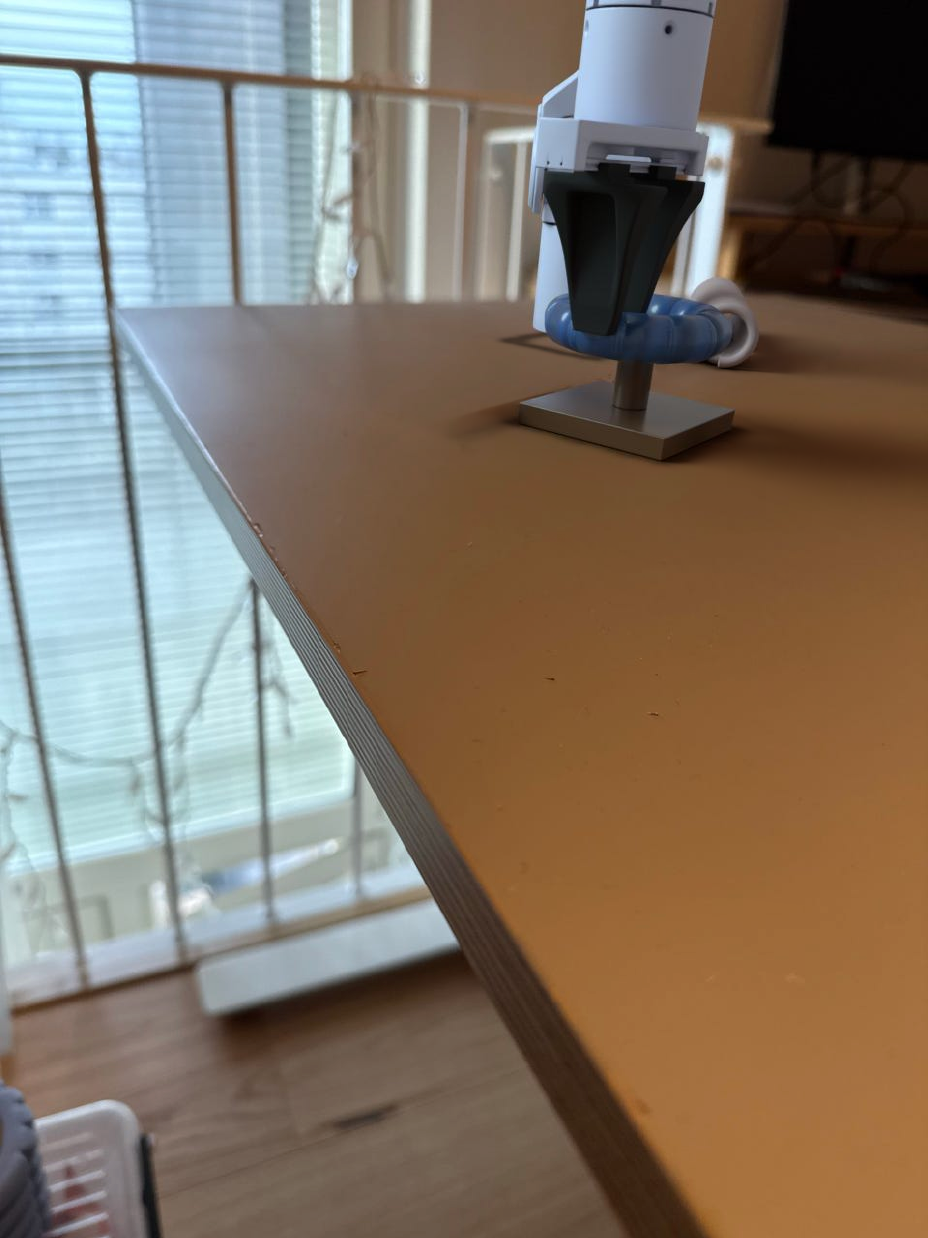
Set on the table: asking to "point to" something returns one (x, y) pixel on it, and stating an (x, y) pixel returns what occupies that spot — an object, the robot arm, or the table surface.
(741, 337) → the coil
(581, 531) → the table surface
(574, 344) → the blue segmented ring
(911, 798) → the table surface
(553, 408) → the peg stand
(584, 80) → the robot arm
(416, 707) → the table surface
